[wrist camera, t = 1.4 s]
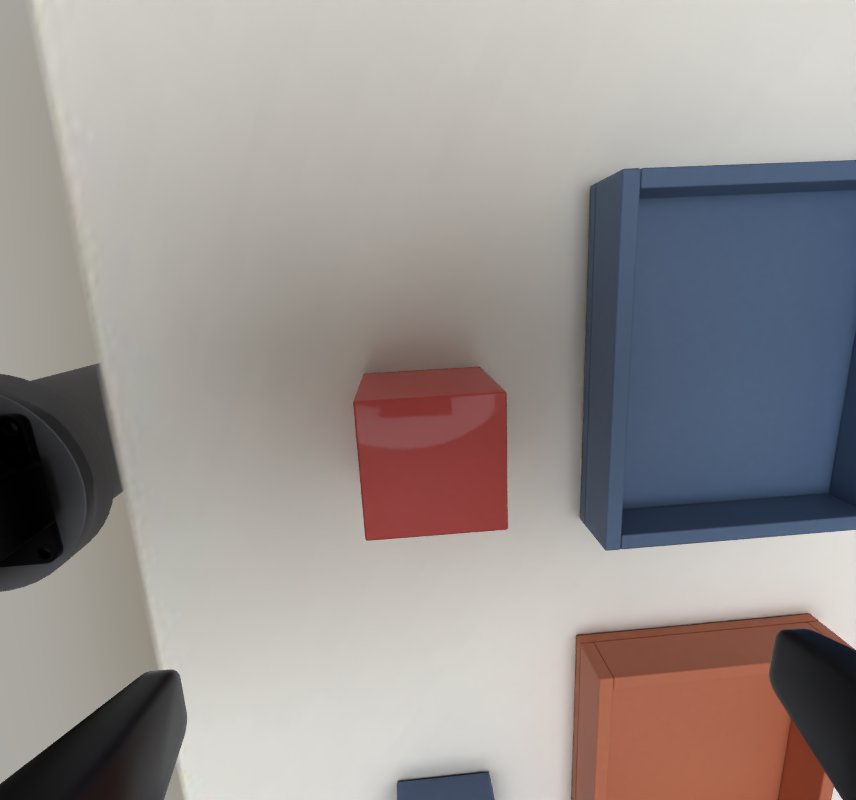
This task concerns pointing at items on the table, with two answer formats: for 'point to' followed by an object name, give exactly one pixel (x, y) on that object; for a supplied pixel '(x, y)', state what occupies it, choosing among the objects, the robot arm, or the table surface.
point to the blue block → (447, 788)
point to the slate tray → (720, 354)
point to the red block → (431, 452)
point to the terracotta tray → (689, 716)
